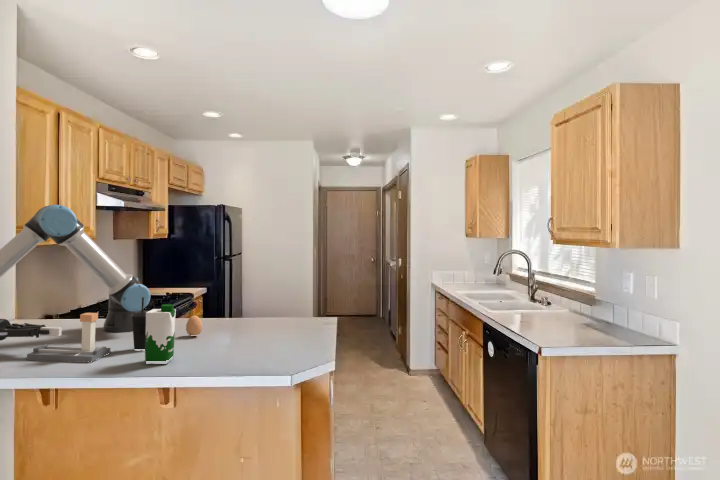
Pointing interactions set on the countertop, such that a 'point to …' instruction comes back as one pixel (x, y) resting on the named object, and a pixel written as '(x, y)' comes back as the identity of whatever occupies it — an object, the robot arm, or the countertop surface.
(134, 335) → the drinking cup
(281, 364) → the countertop surface
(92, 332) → the fader
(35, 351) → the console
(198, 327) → the egg
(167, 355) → the milk carton
